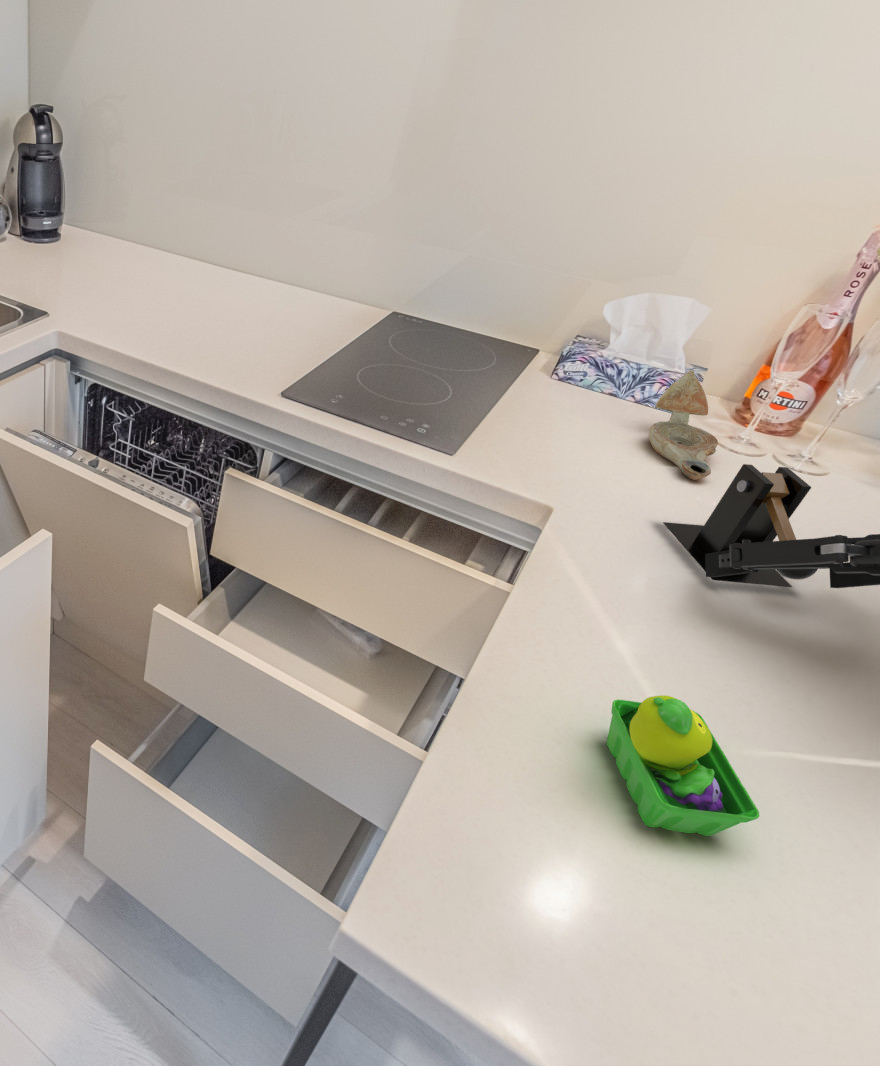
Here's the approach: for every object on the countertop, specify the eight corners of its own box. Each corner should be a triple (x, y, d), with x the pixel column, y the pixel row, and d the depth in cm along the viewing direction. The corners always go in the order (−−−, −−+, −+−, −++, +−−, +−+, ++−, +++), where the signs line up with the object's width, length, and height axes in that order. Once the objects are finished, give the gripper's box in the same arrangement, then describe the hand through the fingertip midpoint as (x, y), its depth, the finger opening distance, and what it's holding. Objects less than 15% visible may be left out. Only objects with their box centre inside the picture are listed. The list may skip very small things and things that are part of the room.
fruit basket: (732, 855, 63) (813, 772, 57) (618, 836, 64) (684, 753, 58) (671, 745, 72) (735, 662, 66) (572, 730, 73) (625, 648, 67)
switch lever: (806, 586, 85) (833, 572, 82) (772, 583, 86) (797, 569, 82) (768, 487, 92) (792, 471, 88) (737, 485, 92) (759, 468, 89)
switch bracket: (786, 595, 91) (854, 507, 83) (707, 587, 92) (767, 500, 84) (729, 535, 100) (785, 452, 93) (658, 529, 101) (708, 446, 93)
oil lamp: (691, 431, 124) (723, 375, 118) (723, 498, 108) (763, 436, 102) (631, 421, 126) (659, 365, 120) (654, 484, 110) (688, 423, 104)
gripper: (822, 576, 68) (658, 593, 88) (1129, 602, 66) (887, 613, 87) (818, 494, 69) (657, 529, 90) (1121, 517, 67) (884, 548, 88)
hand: (770, 571), depth 88 cm, fingers open, 13 cm apart
